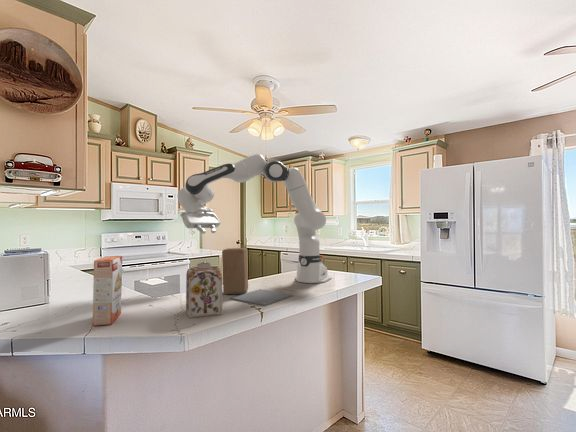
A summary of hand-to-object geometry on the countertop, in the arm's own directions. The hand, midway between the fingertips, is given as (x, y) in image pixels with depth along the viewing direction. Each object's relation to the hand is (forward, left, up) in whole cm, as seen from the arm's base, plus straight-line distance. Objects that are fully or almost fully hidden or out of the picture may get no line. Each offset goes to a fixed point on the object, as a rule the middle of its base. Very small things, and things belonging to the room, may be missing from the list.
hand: (209, 232), depth 157 cm
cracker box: (+53, +10, -28) cm, 61 cm away
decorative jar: (+29, +30, -28) cm, 50 cm away
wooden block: (0, +18, -27) cm, 33 cm away
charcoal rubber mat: (0, +34, -27) cm, 44 cm away
